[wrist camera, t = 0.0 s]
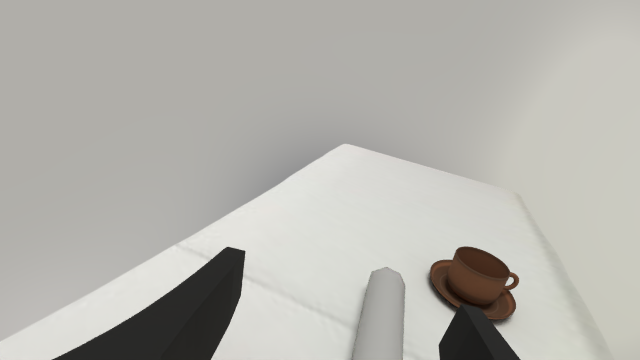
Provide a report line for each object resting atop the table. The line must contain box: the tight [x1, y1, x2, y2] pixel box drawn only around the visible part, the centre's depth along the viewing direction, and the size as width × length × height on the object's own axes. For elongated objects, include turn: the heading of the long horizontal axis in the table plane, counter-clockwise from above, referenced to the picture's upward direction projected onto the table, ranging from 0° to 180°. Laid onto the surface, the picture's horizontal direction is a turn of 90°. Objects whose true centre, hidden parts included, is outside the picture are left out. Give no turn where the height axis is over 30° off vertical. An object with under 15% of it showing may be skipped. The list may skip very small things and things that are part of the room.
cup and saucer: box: [430, 247, 519, 319], centre depth 47 cm, size 12×12×6 cm
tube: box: [352, 267, 405, 360], centre depth 33 cm, size 5×5×25 cm
